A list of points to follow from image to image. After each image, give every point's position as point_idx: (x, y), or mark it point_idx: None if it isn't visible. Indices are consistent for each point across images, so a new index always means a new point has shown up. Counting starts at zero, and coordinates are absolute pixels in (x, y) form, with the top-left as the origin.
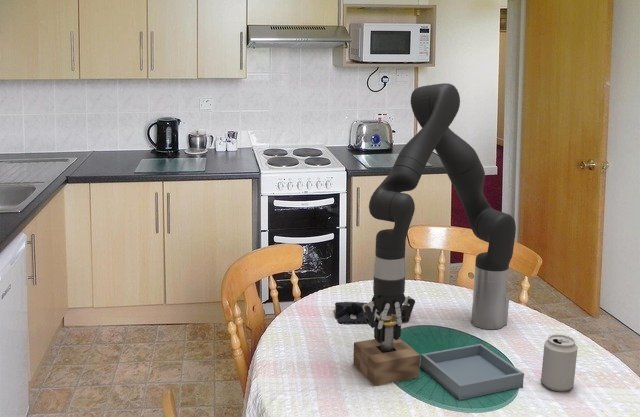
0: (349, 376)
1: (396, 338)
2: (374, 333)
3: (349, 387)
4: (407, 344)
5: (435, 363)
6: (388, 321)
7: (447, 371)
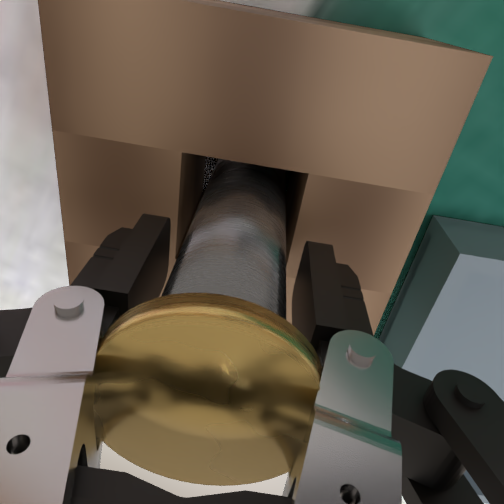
0: (42, 111)
1: (292, 308)
2: (92, 264)
3: (10, 203)
4: (412, 243)
5: (423, 353)
6: (175, 450)
7: (471, 327)
